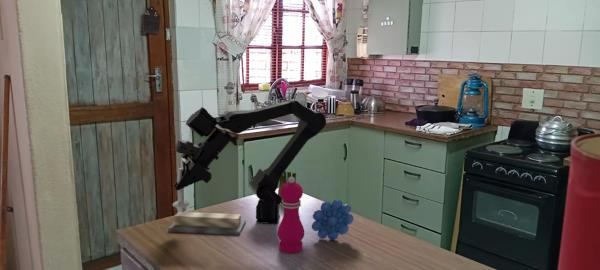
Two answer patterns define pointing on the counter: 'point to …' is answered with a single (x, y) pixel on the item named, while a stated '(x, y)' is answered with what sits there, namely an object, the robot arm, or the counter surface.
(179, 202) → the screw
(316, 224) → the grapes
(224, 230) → the stand
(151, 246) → the counter surface
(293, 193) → the pepper mill
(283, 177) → the fennel bulb
